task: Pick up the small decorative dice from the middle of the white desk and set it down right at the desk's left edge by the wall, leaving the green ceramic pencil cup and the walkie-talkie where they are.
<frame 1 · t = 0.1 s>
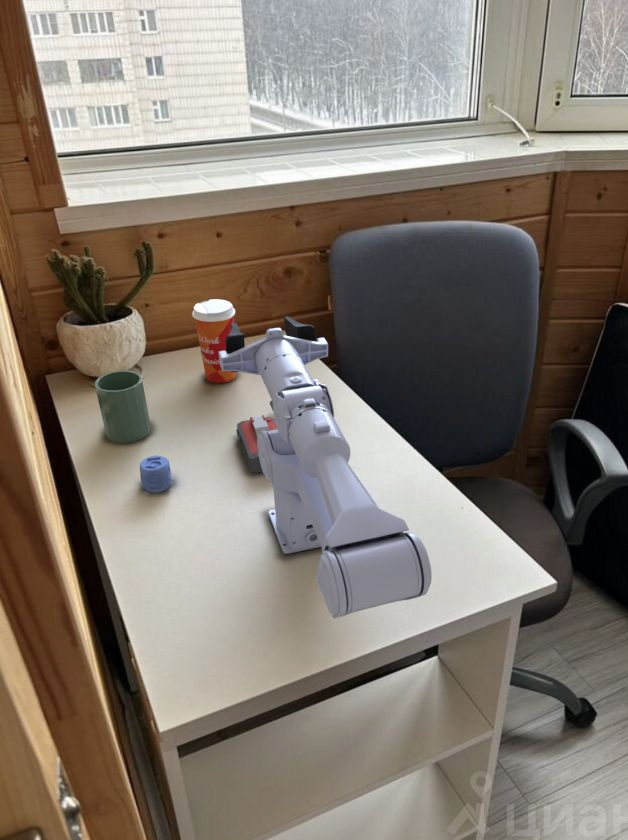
hand: (260, 326, 103), 22 cm above the table, tool horizontal, fingers open, 7 cm apart
pencil cup: (129, 431, 120), on the table
walkie-talkie: (266, 441, 118), on the table
decorative dice: (158, 486, 108), on the table
paper cup: (221, 377, 137), on the table
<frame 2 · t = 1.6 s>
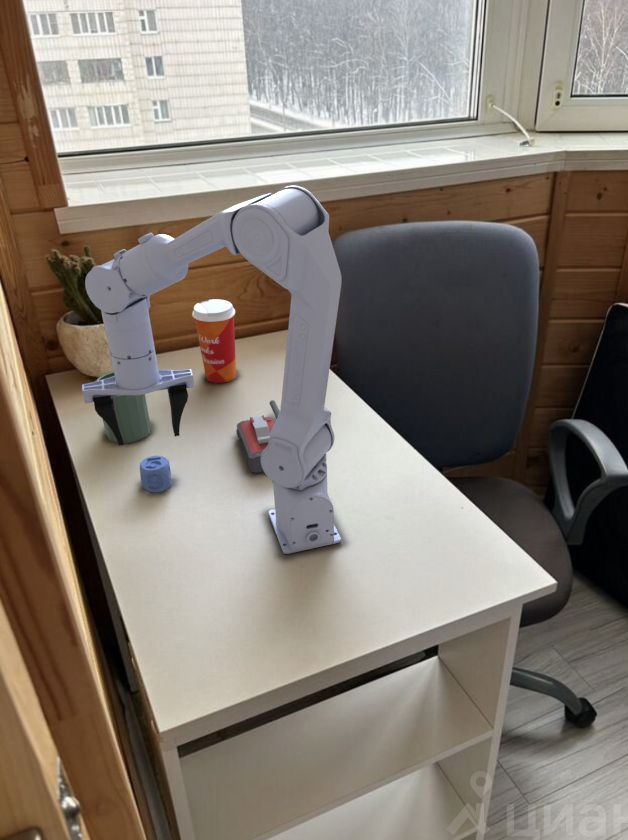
hand: (149, 437, 103), 8 cm above the table, tool pointing down, fingers open, 7 cm apart
nothing on the table moved.
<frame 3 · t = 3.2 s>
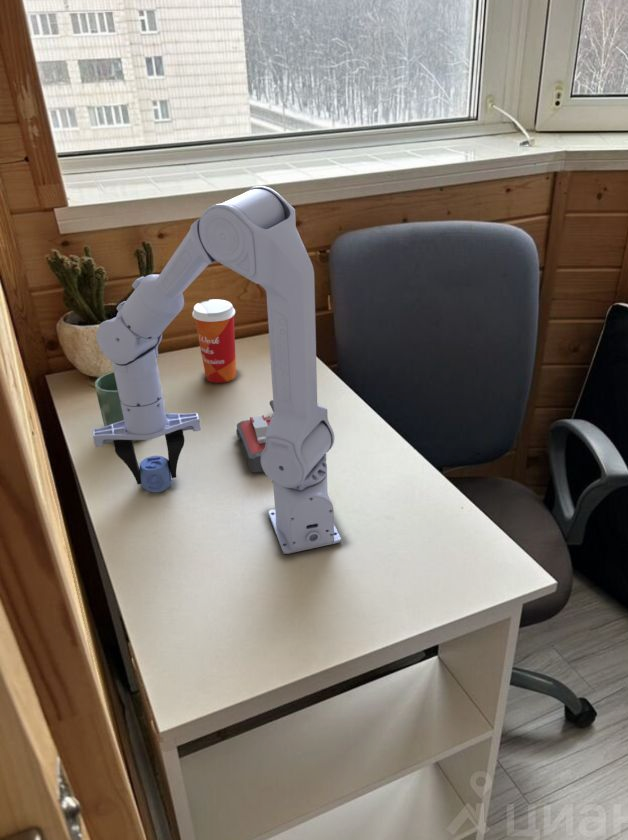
hand: (156, 477, 107), 1 cm above the table, tool pointing down, fingers closed on decorative dice, 4 cm apart
decorative dice: (158, 486, 108), on the table, touching gripper
everything else where it was.
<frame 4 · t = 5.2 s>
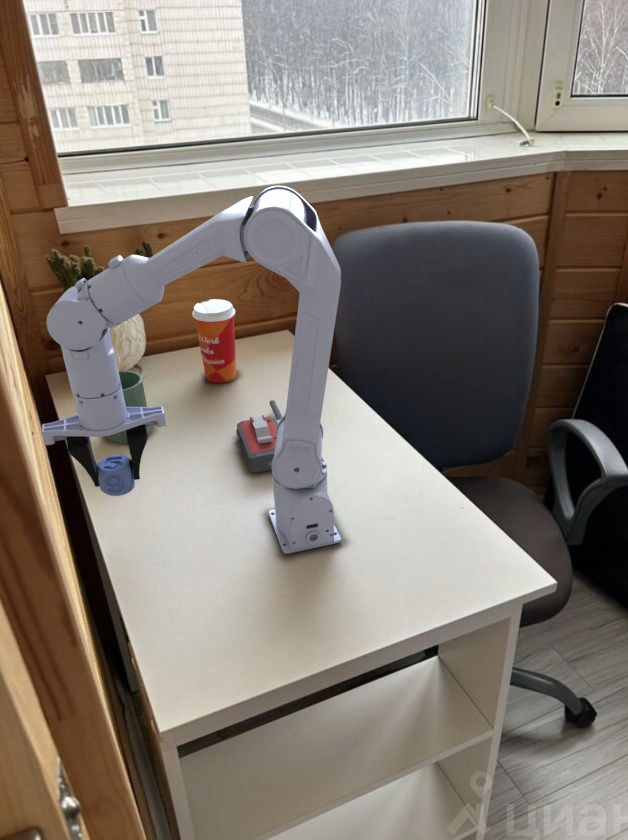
hand: (117, 478, 95), 8 cm above the table, tool pointing down, fingers closed on decorative dice, 4 cm apart
decorative dice: (119, 488, 96), point 7 cm above the table, touching gripper
everything else where it was.
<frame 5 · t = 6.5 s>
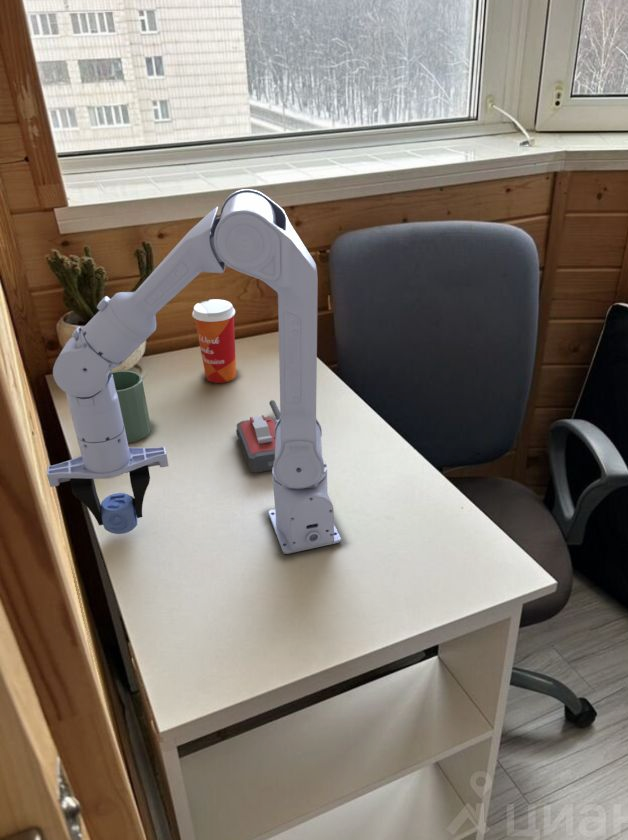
hand: (120, 517, 97), 3 cm above the table, tool pointing down, fingers closed on decorative dice, 4 cm apart
decorative dice: (122, 526, 98), point 1 cm above the table, touching gripper
everything else where it was.
when the fingers open (1 cm above the table, at t = 7.4 s): decorative dice stays where it is, on the table.
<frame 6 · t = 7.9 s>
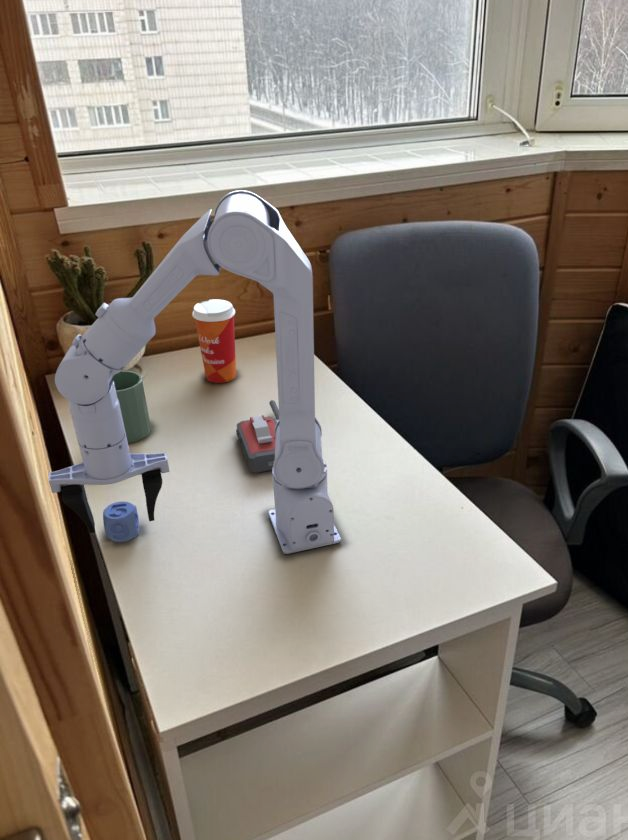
hand: (122, 522, 98), 2 cm above the table, tool pointing down, fingers open, 7 cm apart
decorative dice: (124, 534, 99), on the table
everything else where it was.
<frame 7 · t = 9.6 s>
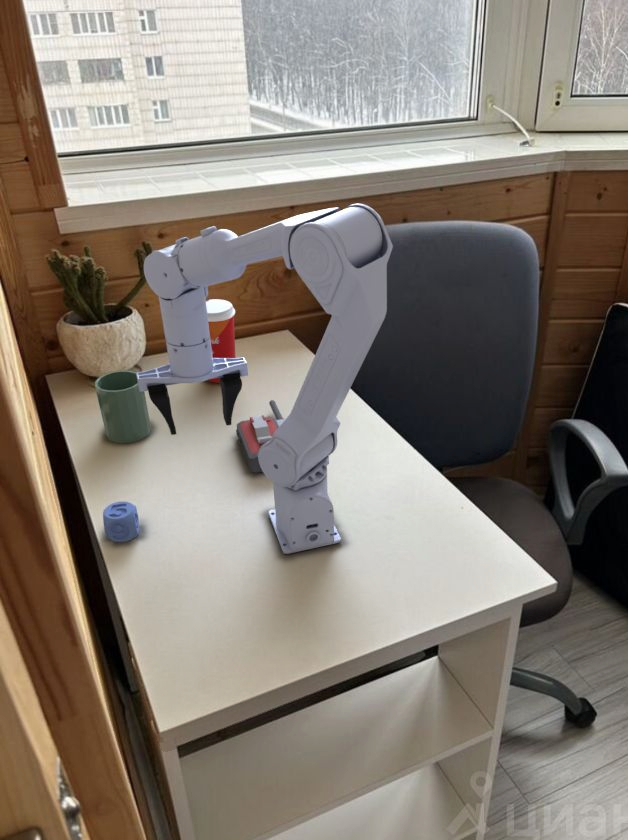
hand: (200, 426, 102), 10 cm above the table, tool pointing down, fingers open, 7 cm apart
nothing on the table moved.
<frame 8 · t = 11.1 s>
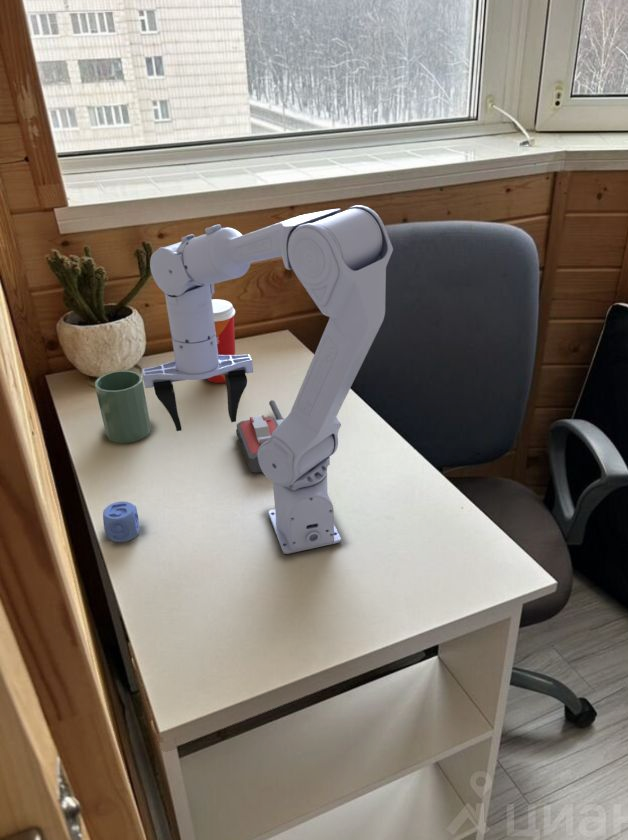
hand: (205, 423, 103), 10 cm above the table, tool pointing down, fingers open, 7 cm apart
nothing on the table moved.
at the end: decorative dice 1.5 cm from the target spot, on the table; decorative dice tilted 0°; decorative dice moved 11.4 cm from its start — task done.
